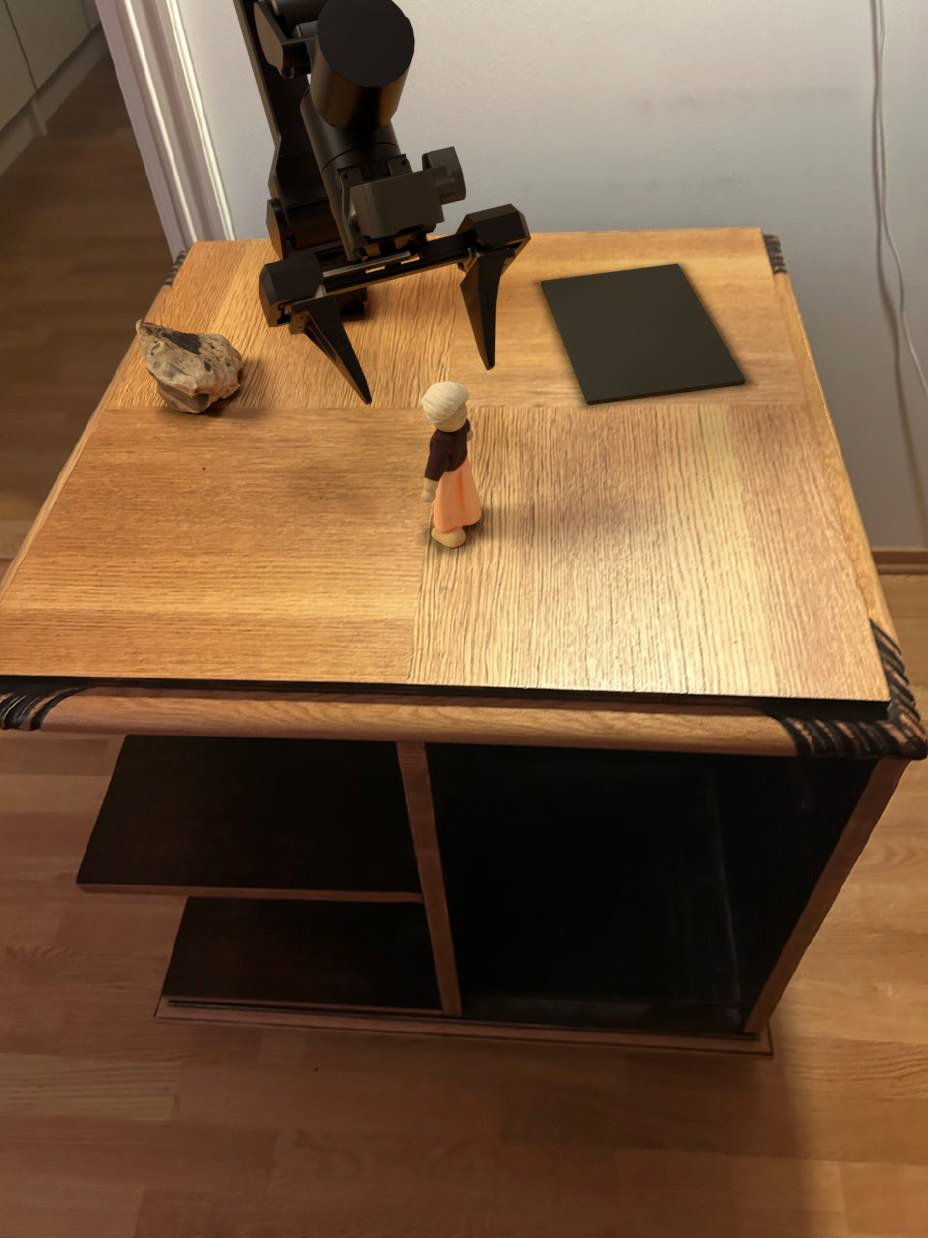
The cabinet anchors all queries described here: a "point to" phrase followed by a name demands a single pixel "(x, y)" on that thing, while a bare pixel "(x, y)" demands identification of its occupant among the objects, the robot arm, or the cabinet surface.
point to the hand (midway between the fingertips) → (430, 385)
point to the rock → (189, 366)
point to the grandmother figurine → (449, 464)
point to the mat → (638, 334)
